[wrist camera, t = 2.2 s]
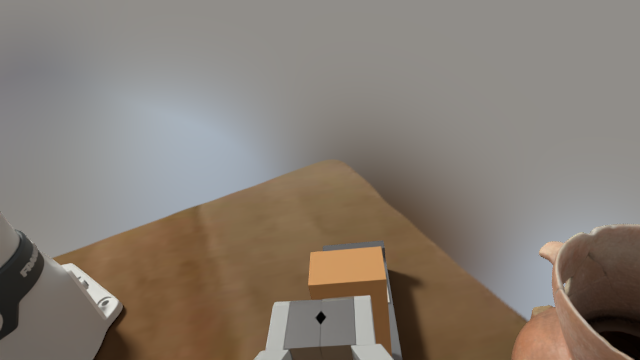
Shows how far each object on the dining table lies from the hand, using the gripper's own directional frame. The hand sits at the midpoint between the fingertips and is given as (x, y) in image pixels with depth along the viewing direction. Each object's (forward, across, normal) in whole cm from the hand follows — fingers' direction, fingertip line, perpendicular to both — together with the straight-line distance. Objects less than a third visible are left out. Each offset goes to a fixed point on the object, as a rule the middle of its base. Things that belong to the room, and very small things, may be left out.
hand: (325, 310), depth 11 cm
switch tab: (+10, 0, +20) cm, 23 cm away
